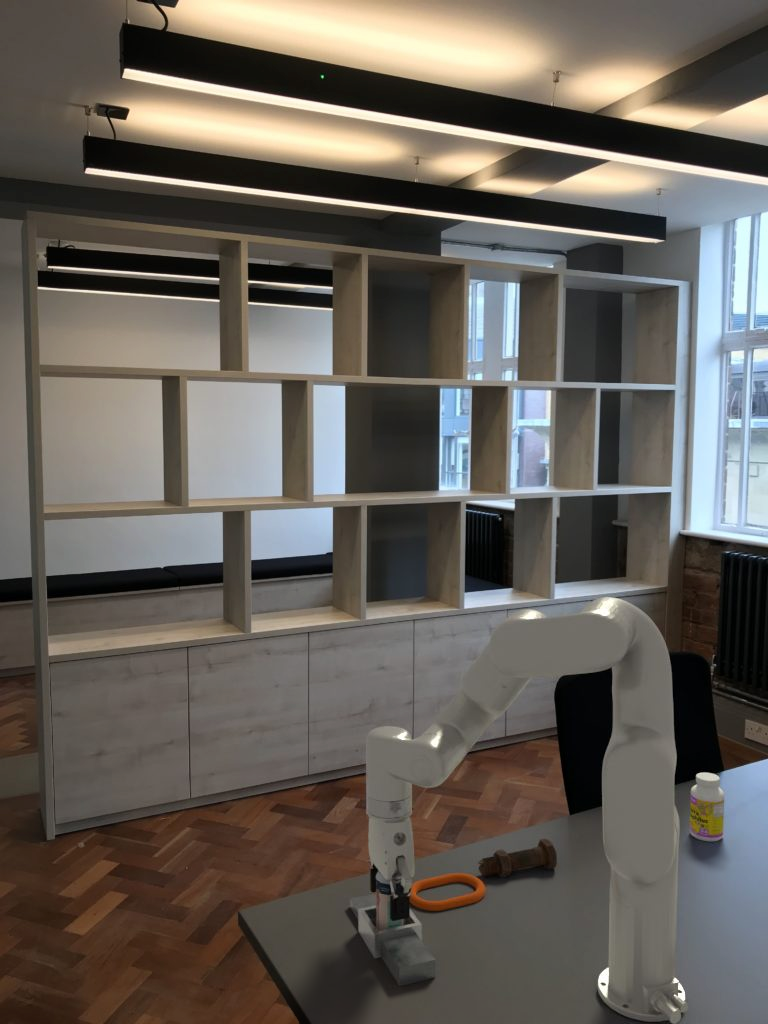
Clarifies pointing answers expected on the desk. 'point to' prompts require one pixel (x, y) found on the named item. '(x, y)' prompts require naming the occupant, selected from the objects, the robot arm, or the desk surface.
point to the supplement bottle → (707, 808)
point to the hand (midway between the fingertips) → (389, 903)
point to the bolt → (519, 859)
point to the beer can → (385, 903)
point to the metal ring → (452, 901)
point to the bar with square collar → (395, 943)
